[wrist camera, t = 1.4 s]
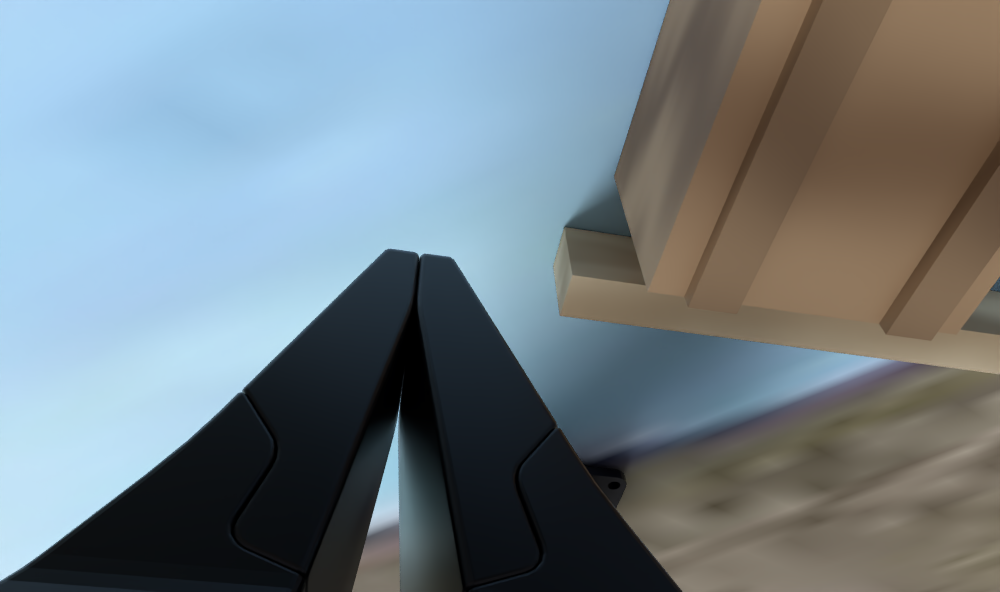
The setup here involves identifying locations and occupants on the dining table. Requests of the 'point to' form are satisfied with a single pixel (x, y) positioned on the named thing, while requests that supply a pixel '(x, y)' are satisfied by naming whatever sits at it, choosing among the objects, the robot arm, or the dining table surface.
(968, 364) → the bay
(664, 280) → the crate
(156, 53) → the dining table surface
